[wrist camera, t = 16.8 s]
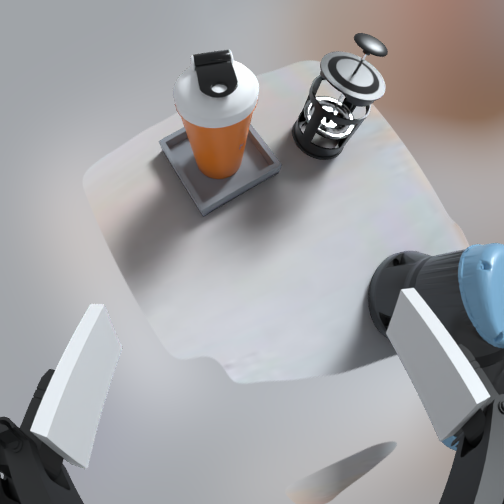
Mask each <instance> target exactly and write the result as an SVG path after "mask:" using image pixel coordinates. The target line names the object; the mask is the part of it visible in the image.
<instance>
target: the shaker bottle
mask: <svg viewBox="0 0 504 504" xmlns="http://www.w3.org/2000/svg"><path fill="white" fill-rule="evenodd" d="M190 63H191V66H190V67H189V68H187V69H186V70H185V71H184V72H183V73H182V74H181V75H180V76H179V77H178V79H177V80H176V82H175V85H174V88H173V97H174V101H175V106H176V110H177V112H178V113H179V115H180V116H181V118H182V121H183V124H184V127H185V130H186V133H187V136H188V139H189V142H190V145H191V148H192V151H193V154H194V157H195V160H196V163H197V166H198V168H199V170H200V171H201V172H202V173H203V174H204V175H206V176H207V177H209V178H213V179H224V178H228V177H230V176H232V175H233V174H234V173H236V172H237V171H238V169H239V168H240V166H241V163H242V158H243V154H244V149H245V145H246V140H247V135H248V131H249V127H250V122H251V118H252V113H253V111H254V109H255V107H256V105H257V101H258V93H259V84H258V81H257V79H256V77H255V75H254V74H253V73H252V72H251V71H250V70H249V69H248V68H246V67H245V66H244V65H243V64H241V63H238V62H236V61H233V55H232V52H231V51H230V50H223V51H215V52H208V53H201V54H195V55H192V56H191V58H190Z"/></svg>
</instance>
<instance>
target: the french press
mask: <svg viewBox="0 0 504 504" xmlns="http://www.w3.org/2000/svg"><path fill="white" fill-rule="evenodd" d="M354 40H355V42H356V43H357V45H358V46H359V47H361V48H362V49H363V53H364V55H363V57H362V58H361V57H358V56H356V55H354V54H351V53H347V52H332V53H328V54H326V55H325V56H324V57H323V58H322V61H321V64H320V68H321V72H320V75H319V76H318V77H316V78H315V79H314V81H313V83H312V85H311V88H310V91H309V96H308V98H307V101H306V103H305V105H304V108H303V110H302V112H301V113H300V115H299V118H298V120H297V121H296V122H295V124H294V126H293V138H294V140H295V142H296V144H297V146H298V147H299V148H300V149H301V150H302V151H303V152H304V153H306V154H307V155H309V156H311V157H313V158H317V159H324V160H325V159H331V158H334V157H336V156H338V155H339V154H340V153H341V151H342V150H343V148H344V145H345V144H346V143H347V142H348V140H349V139H350V138H351V136H352V135H353V134H354V132H355V131H356V130H357V129H358V127H359V126H360V125H361V123H362V122H363V121H364V119H365V118H366V117H367V115H368V114H369V112H370V109H371V104H372V103H373V102H374V101H375V100H377V99H380V98H381V97H382V96H383V94H384V92H385V82H384V80H383V78H382V76H381V74H380V73H379V72H378V71H377V69H375V67H373V66H372V65H371V64H370V63H369V62H367V61H366V60H364V59H365V57H366V56H367V55H370V54H372V55H375V56H380V57H383V56H386V55H387V52H388V51H387V48H386V47H385V45H384V44H383V43H382V42H381V41H379V40H378V39H376V38H375V37H373V36H371V35H368V34H363V33H358V34H356V35H355V36H354ZM322 80H327V81H328V82H329V83H330V84H331V85H332V86H333V87H334V88H336V89H337V90H338V91H340V92H342V94H341V96H340V98H339V99H338V100H336V99H334V98H331V97H326V96H318V97H315V95H316V92H317V90H318V88H319V86H320V83H321V81H322ZM343 95H344V96H345V97H346V98H345V99H344V101H343V103H342V102H340V101H341V99H342V97H343ZM356 106H361V107H363V106H366V115H365V116H364V117H362V118H360V119H354V117H353V115H352V112H353V111H354V109H355V108H356ZM305 122H307V124H308V125H307V127H306V129H305V131H304V133H302V131H301V126H302V125H303V124H304V123H305ZM315 133H317V134H319V135H321V136H323V137H325V138H329V139H338V142H337V145H336V147H335V148H332V149H329V148H323V147H320V146H317V145H315V144H314V143H312V142H311V141H312V139H313V137H314V135H315Z"/></svg>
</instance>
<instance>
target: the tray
mask: <svg viewBox="0 0 504 504" xmlns="http://www.w3.org/2000/svg"><path fill="white" fill-rule="evenodd" d="M159 143H160V146H161V148H162V150H163V152H164V154H165V155H166V157H167V159H168V160H169V162H170V164H171V165H172V167H173V168H174V170H175V172H176V173H177V175H178V177H179V178H180V180H181V182H182V183H183V185H184V186H185V188H186V190H187V191H188V193H189V195H190V196H191V198H192V199H193V201H194V203H195V204H196V206H197V208H198V209H199V211H200V212H201V214H202V216H205V215H207V214H208V213H210V212H212V211H213V210H215V209H217V208H218V207H220V206H222V205H223V204H225V203H227V202H228V201H230V200H232V199H233V198H235V197H237V196H239V195H240V194H242V193H244V192H245V191H247V190H249V189H251V188H252V187H254V186H256V185H258V184H259V183H261V182H263V181H265V180H267V179H268V178H270V177H272V176H274V175H276V174H277V173H279V170H280V168H281V166H282V164H281V163H280V162H279V160H278V159H277V158H276V156H275V155H274V154H273V152H272V151H271V150H270V148H269V147H268V146H267V144H266V143H265V142H264V141H263V139H262V138H261V137H260V135H259V134H258V133H257V132H256V130H255V129H254V128H253V126H252V125H251V124H250V127H249V131H248V135H247V140H246V145H245V149H244V154H243V158H242V163H241V166H240V168H239V169H238V171H237V172H236V173H234V174H233V175H232V176H230V177H228V178H224V179H213V178H209V177H207V176H206V175H204V174H203V173H202V172H201V171H200V170H199V168H198V166H197V163H196V160H195V157H194V154H193V151H192V148H191V145H190V142H189V139H188V136H187V133H186V130H185V127H184V128H182V129H180V130H178V131H176V132H174V133H173V134H171V135H169V136H167V137H165V138H164V139H162V140H160V141H159Z"/></svg>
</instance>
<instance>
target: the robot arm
mask: <svg viewBox="0 0 504 504" xmlns="http://www.w3.org/2000/svg"><path fill="white" fill-rule="evenodd" d="M369 309H370V314H371V317H372V320H373V322H374V324H375V326H376V327H377V329H378V330H379V331H380V332H381V333H382V334H383V335H384V336H385V337H387V338H389V340H390V342H391V343H392V345H393V347H394V349H395V351H396V353H397V354H398V356H399V358H400V360H401V362H402V364H403V366H404V367H405V369H406V371H407V373H408V375H409V377H410V379H411V381H412V383H413V385H414V387H415V389H416V391H417V393H418V395H419V397H420V399H421V401H422V403H423V405H424V407H425V410H426V412H427V414H428V416H429V418H430V420H431V423H432V425H433V427H434V429H435V431H436V434H437V436H438V438H439V441H441V442H442V443H444V445H446V446H447V447H449V448H450V449H453V450H455V451H456V454H455V458H454V462H453V465H452V469H451V472H450V475H449V478H448V481H447V484H446V487H445V489H444V492H443V495H442V498H441V500H440V502H439V504H504V245H502V244H499V243H491V244H486V245H480V244H477V245H472V246H470V247H468V248H466V249H465V250H460V251H455V252H450V253H446V254H441V255H436V256H430V255H426V254H423V253H420V252H416V251H404V252H400V253H396V254H393V255H391V256H389V257H388V258H386V259H385V260H384V261H383V262H382V263H381V264H380V265H379V267H378V268H377V270H376V272H375V273H374V276H373V278H372V281H371V284H370V289H369ZM121 351H122V346H121V343H120V341H119V339H118V337H117V334H116V332H115V329H114V327H113V324H112V322H111V320H110V317H109V314H108V312H107V309H106V306H105V305H104V304H90V306H89V307H88V309H87V311H86V313H85V314H84V316H83V318H82V320H81V322H80V323H79V325H78V327H77V329H76V331H75V332H74V334H73V336H72V338H71V340H70V342H69V344H68V346H67V348H66V350H65V352H64V354H63V356H62V358H61V360H60V362H59V364H58V366H57V368H56V370H52V369H49V370H48V371H47V372H46V373H45V375H44V376H43V377H42V378H41V380H40V382H39V384H38V386H37V390H36V391H35V393H34V395H33V396H34V398H32V400H31V402H30V404H29V407H28V409H27V412H26V414H25V417H24V419H23V422H22V424H21V426H20V428H18V427H17V426H16V425H15V424H14V423H13V422H12V421H11V420H10V419H9V418H7V417H0V472H1V473H3V474H4V479H2V478H1V475H0V504H84V503H83V501H82V500H81V498H80V496H79V494H78V492H77V490H76V488H75V486H74V484H73V483H72V480H71V478H70V476H69V474H68V472H67V470H66V468H65V467H64V465H63V464H62V462H63V459H65V460H66V461H68V462H69V463H70V464H72V465H75V466H78V467H82V468H85V469H88V464H89V460H90V456H91V451H92V447H93V443H94V439H95V435H96V432H97V427H98V424H99V420H100V417H101V413H102V410H103V406H104V403H105V400H106V397H107V393H108V390H109V387H110V384H111V381H112V377H113V374H114V371H115V369H116V366H117V363H118V360H119V357H120V354H121Z"/></svg>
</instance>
